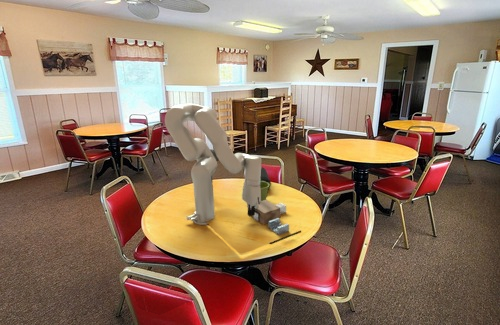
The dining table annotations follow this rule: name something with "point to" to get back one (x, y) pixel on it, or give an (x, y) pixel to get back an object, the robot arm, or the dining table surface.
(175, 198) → the dining table surface
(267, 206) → the slotted wooden block
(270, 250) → the dining table surface
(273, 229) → the v-block
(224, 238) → the dining table surface
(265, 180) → the portable speaker
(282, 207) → the rectangular steel bar
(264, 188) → the plant pot
